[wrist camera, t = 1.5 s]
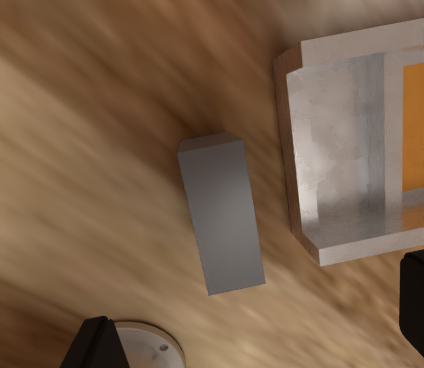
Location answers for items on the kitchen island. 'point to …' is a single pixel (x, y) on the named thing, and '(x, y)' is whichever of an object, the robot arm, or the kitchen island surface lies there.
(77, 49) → the kitchen island surface
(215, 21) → the kitchen island surface
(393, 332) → the kitchen island surface
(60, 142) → the kitchen island surface
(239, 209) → the panel
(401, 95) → the rack
